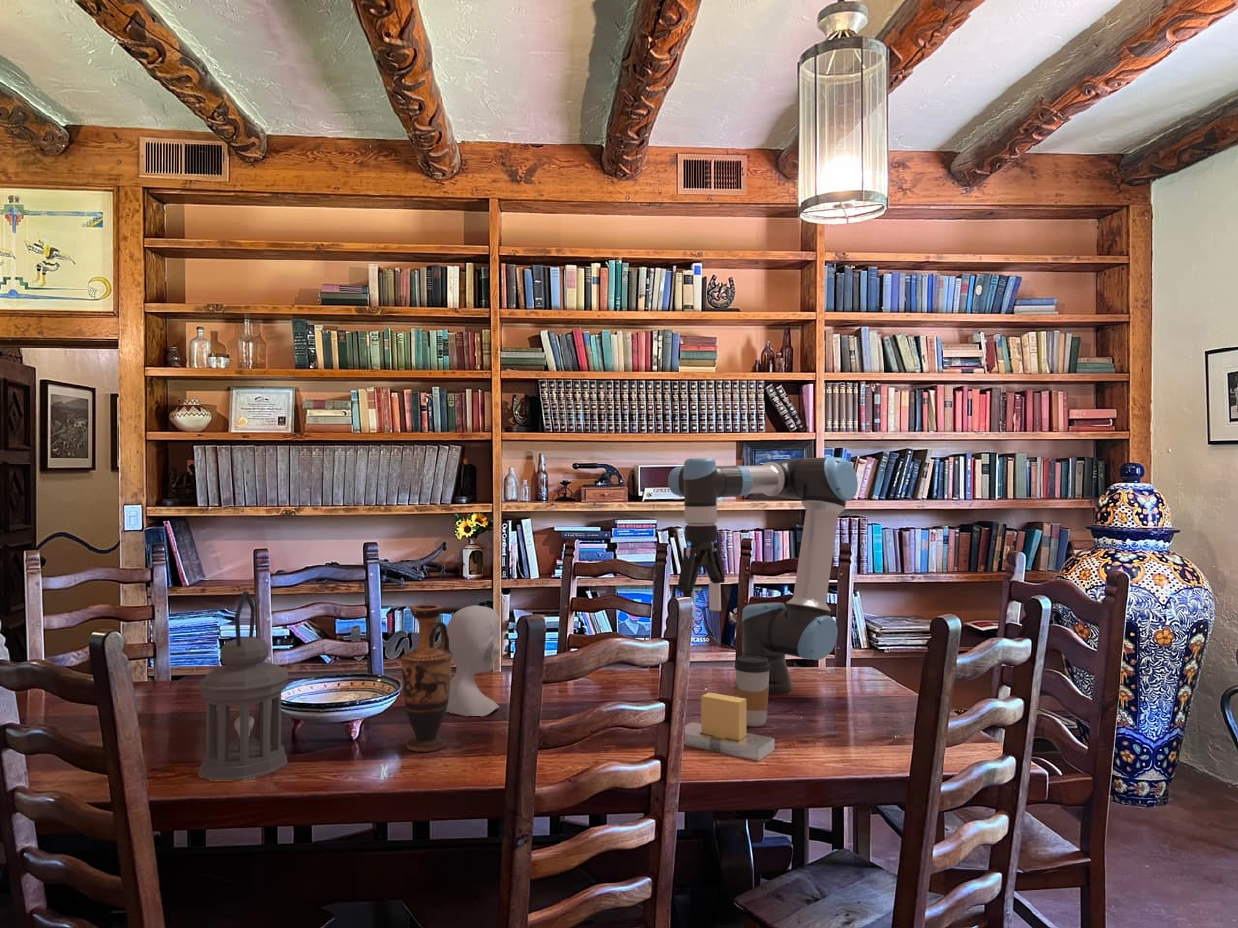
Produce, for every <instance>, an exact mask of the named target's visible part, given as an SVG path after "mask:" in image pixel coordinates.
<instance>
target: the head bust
mask: <svg viewBox="0 0 1238 928" xmlns="http://www.w3.org/2000/svg"><path fill="white" fill-rule="evenodd" d="M446 627H447V632H448V637H449V648H450V651H451V653H452V655H453V656H452V662H453V663H454V664H455V667H456V671H455V674H454V675H453V677H452V676H451V681H450V694H449V700H448V705H447V709H446V713H447V712H449V713H448V714H454V715H459V716H464V717H468V716H481V717H485V716H488V715H490V714H491V713H492V712H494V711H495V710H496V709H499V708H500V706H499V705H498V704H497V702H496V701H494V700H493V699H491V698H489V697H488V696H485V695H484V694H483V693H482V692H481V690H480V689H479V687H478V686H477V684H476V682H475V678H474V677H475V675H476V674H478V673H490V672H492V670H493V669H494V663H495V661H496V658H497V655H498V654H499V653H500V649H501V648H500V645H499V644H498V641H499V638H500V631H499V630H500V617H499V615H498V614H497V613H496V611H495V610H494V609H492V608H491V607H488V606H482V605H474V604H473V605H470V606H466V607H463V608H460V609H459V610H457V611H456V612H455V613H454V614H452V616H451V618H450V620H449V621H448V624H447V626H446Z"/></svg>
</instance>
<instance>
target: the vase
mask: <svg viewBox="0 0 1238 928" xmlns="http://www.w3.org/2000/svg"><path fill="white" fill-rule="evenodd" d="M443 609H444V606H443V605H441V604H432V603H431V604H430V603H429V604H428V603H426V604H417V605H412V606H410V607H409V610H410V612H411V613H410V614H412V617H413V619H415V620H417V622H418V645H417V648H415V649H414V650H413V651H410V652H407V653H404V654H402V655H401V656H400V662H401V663H400V664H401V671H402V672H401V674H402V691H403V700H404V702H403V703H404V706H405V711H406V715H407V719H408V722H409V724H410V726H411V729H412V731H413V734H414V736H413V737H412V738H410V739H408V740H407V742H406V748H407V750H409V751H413V752H416V753H420V752H421V753H428V752H429V753H430V752H435V751H438V750H439V751H440V750H441V749H443V748H445V747H446V746H447V744H448V743H447V739H446V737H445V736H443V735H439V731H440V728H441V725H442V722H443V721H444V718H445V716H446V714H447V712H446V709H447V705H448V700H449V694H450V681H451V678H452V665H453V663H452V662H453V660H452V656H453V655H452V653H451V651H450V648H449V637H448V632H447V627H448V626H447V625H446V624H445V622H442V621H440V620H438V618H439V617H440V616H441V613H442V612H443ZM438 629H440V634H441V635H440V637H441V638H440V639H441V641H440V645H439V646H438V647H437V644H436V636H437V635H436V634H437V631H438Z"/></svg>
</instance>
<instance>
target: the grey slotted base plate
mask: <svg viewBox="0 0 1238 928" xmlns="http://www.w3.org/2000/svg"><path fill="white" fill-rule="evenodd" d="M684 726H685V745H684V746H688V747H692V748H696V749H701V750H706V751H711V752H714V753H719V754H725V755H728V756H734V757H737V758H742V759H747V760H753V761H756V762H760V761H761V760H762V759H764V758H765V757H767V756H768V755H770V754H771V753H772V752H774V751H775V737H770V736H764V735H759V734H755V733H749V732H746V737H745V738H744V739H742V740H741V741H739V742H736V741H731V740H729V739H728V738H723V737H718V736H713V737H712V736H707V735H704V734H703V733H701V723H697V722H693V721H692V722H689V723H687V724H685V725H684Z"/></svg>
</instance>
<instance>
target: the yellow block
mask: <svg viewBox="0 0 1238 928" xmlns="http://www.w3.org/2000/svg"><path fill="white" fill-rule="evenodd" d="M700 699H701V700H700V702H701V703H700V706H701V707H700V710H701V711H700V713H701V715H700V718H701V720H700V724H701V733H703V734H704V735H707V736H712V737H713V736H718V737H723V738H728V739H729V740H731V741H736V742H739V741H741V740H742V739H744V738H745V737H746V733H747V726H746V699H745V698H739V697H737V696H732V695H727V694H720V693H716V692H715V693H714V692H707V693H705V694H702V695H701V696H700Z"/></svg>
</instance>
